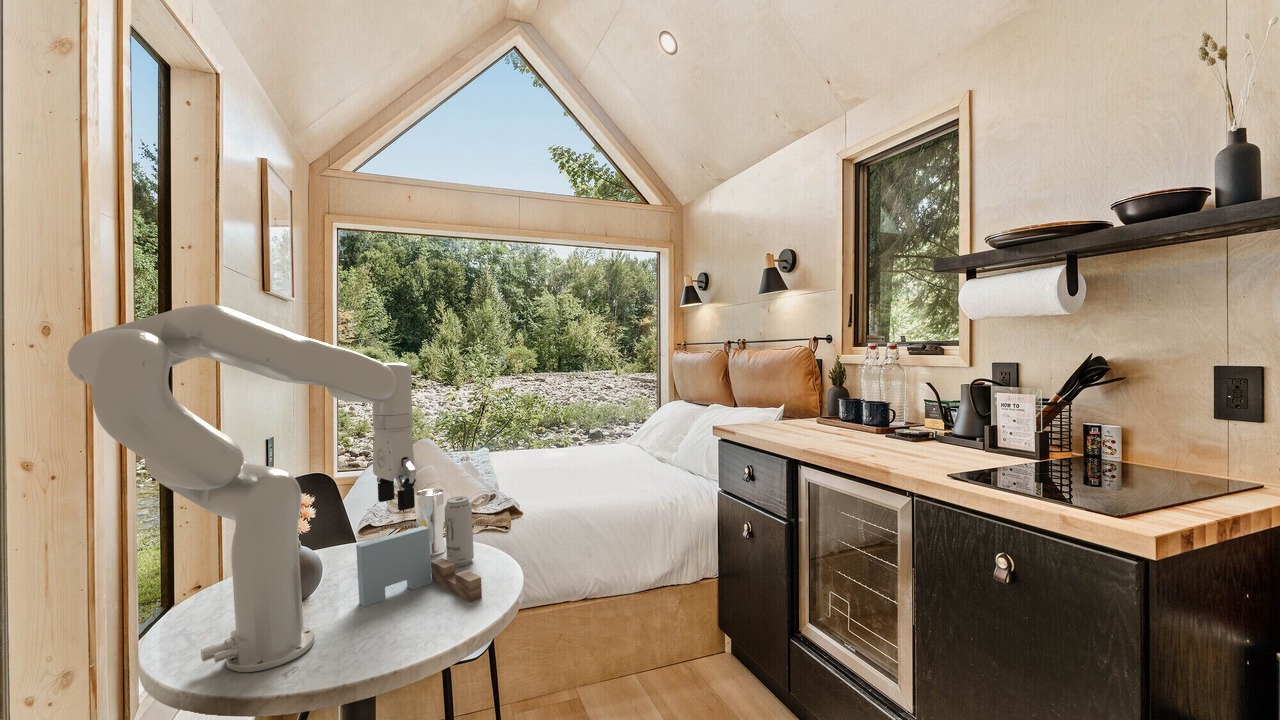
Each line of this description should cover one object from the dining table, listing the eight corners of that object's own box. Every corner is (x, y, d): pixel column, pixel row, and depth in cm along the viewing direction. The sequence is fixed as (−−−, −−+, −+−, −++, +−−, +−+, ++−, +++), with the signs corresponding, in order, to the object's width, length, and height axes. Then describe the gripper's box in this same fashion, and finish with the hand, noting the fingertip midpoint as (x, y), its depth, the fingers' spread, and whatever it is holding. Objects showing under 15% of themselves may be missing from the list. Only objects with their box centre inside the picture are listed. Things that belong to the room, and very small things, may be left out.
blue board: (364, 606, 113) (360, 547, 112) (359, 603, 114) (356, 544, 114) (431, 583, 123) (428, 528, 123) (426, 580, 125) (423, 525, 124)
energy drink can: (441, 564, 133) (438, 500, 133) (463, 555, 138) (460, 494, 138) (457, 569, 130) (454, 504, 129) (479, 561, 134) (476, 498, 134)
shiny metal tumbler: (428, 559, 136) (425, 497, 136) (411, 553, 141) (408, 493, 140) (453, 550, 142) (450, 490, 141) (436, 544, 146) (434, 486, 146)
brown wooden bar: (481, 597, 115) (481, 576, 115) (470, 602, 113) (469, 581, 113) (442, 576, 126) (442, 557, 126) (431, 580, 124) (430, 561, 124)
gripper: (358, 421, 121) (361, 501, 122) (392, 428, 109) (395, 517, 110) (393, 417, 127) (396, 494, 127) (430, 423, 115) (433, 508, 115)
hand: (396, 504), depth 118 cm, fingers open, 9 cm apart
